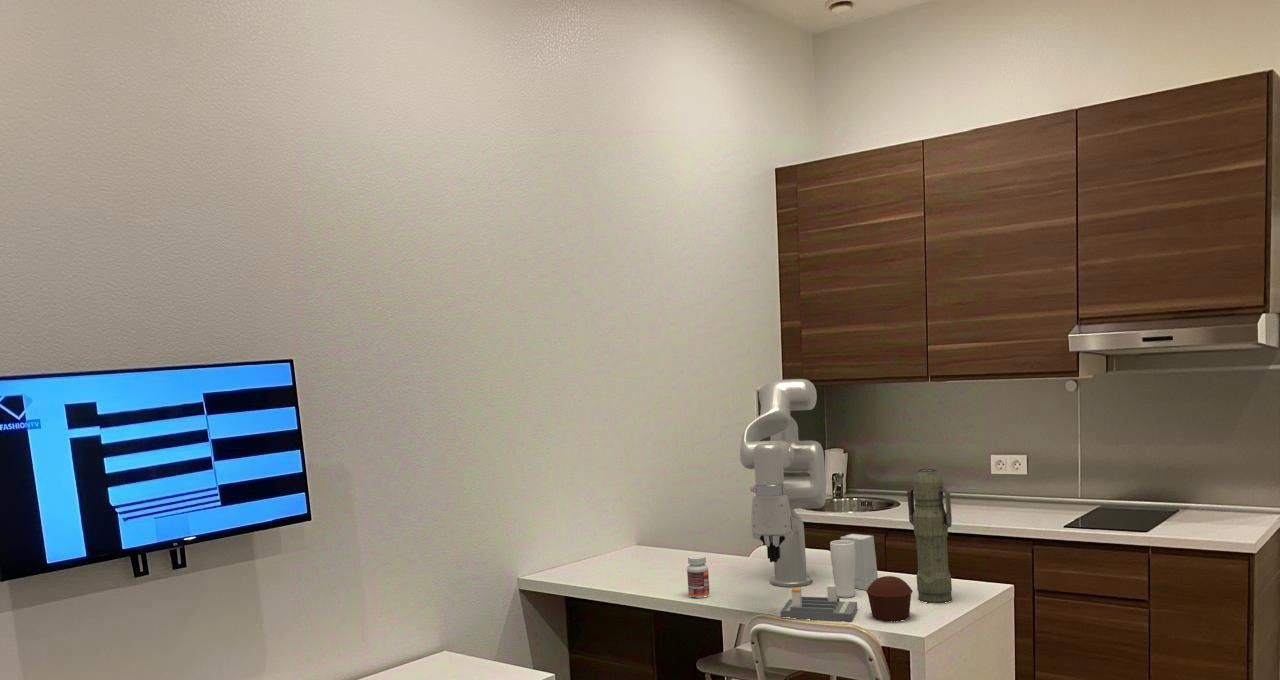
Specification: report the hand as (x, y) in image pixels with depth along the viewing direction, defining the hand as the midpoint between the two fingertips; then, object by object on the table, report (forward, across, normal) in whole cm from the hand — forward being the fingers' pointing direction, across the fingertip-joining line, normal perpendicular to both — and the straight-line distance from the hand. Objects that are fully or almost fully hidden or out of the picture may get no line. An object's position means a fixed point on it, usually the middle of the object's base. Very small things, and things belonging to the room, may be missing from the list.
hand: (774, 561), depth 240 cm
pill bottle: (+14, -27, +18) cm, 35 cm away
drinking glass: (+14, +14, +24) cm, 31 cm away
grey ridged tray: (+14, +10, +4) cm, 18 cm away
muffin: (+15, +28, +4) cm, 32 cm away
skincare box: (+14, +18, +35) cm, 42 cm away
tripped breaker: (+12, +5, 0) cm, 13 cm away
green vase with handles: (+14, +38, +23) cm, 47 cm away
